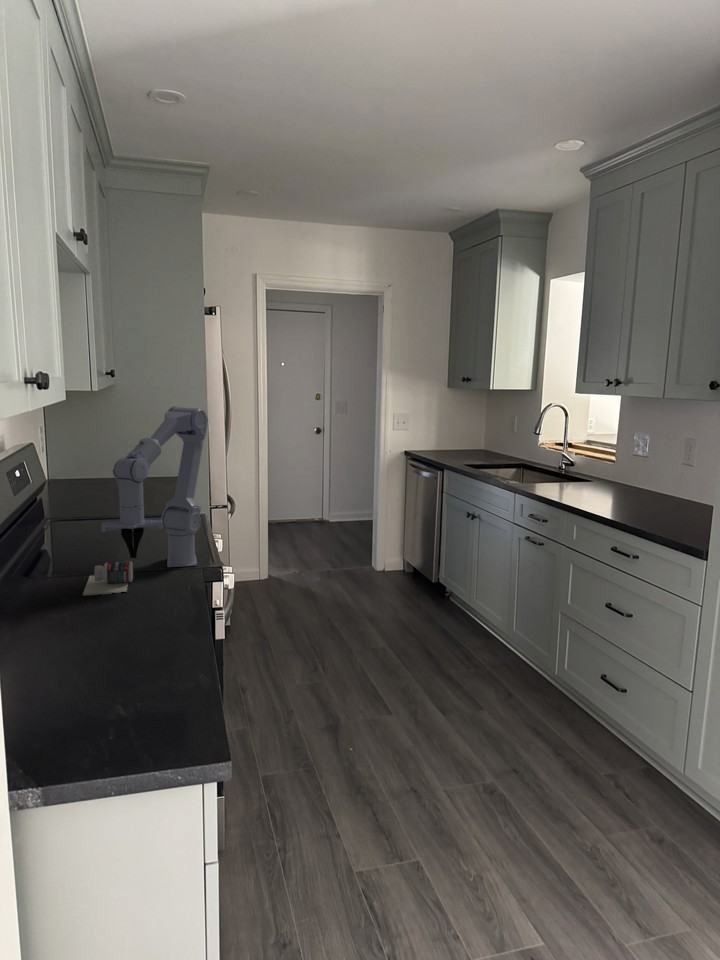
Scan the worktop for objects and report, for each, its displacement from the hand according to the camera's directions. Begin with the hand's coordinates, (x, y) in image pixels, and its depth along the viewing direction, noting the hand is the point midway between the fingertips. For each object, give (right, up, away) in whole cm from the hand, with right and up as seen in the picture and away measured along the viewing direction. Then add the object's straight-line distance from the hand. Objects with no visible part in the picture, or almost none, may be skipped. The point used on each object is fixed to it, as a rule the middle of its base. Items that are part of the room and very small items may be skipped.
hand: (133, 557), depth 166 cm
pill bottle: (0, -4, +1) cm, 4 cm away
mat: (-6, -7, -1) cm, 9 cm away
